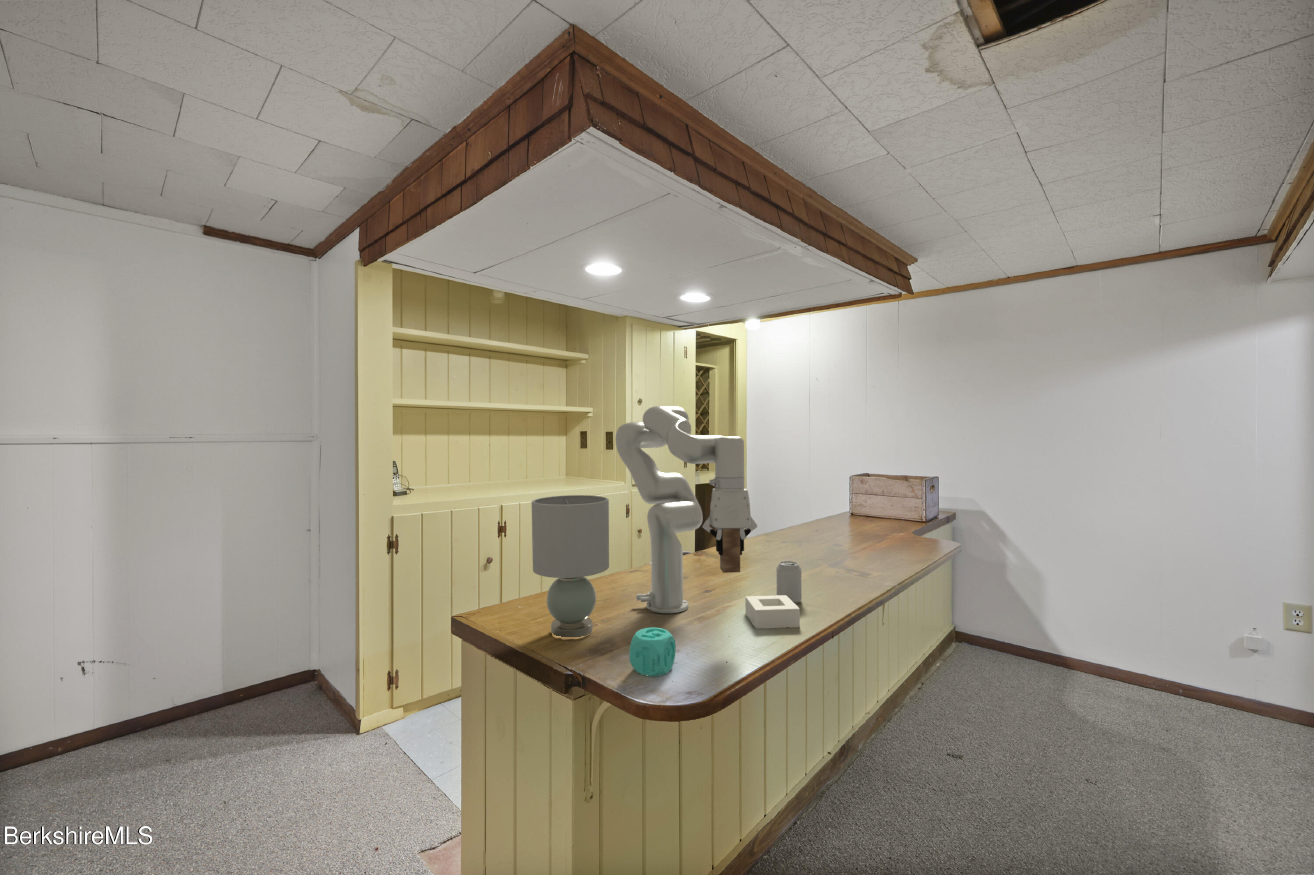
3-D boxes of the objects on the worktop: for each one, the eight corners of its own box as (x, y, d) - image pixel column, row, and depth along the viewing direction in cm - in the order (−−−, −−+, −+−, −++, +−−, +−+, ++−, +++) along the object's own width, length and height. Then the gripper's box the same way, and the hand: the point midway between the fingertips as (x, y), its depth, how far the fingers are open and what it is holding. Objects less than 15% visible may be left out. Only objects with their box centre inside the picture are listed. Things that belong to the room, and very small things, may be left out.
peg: (723, 572, 141) (722, 525, 140) (720, 568, 145) (719, 522, 145) (740, 572, 141) (740, 525, 141) (736, 567, 145) (736, 522, 145)
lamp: (565, 654, 132) (563, 507, 131) (517, 633, 145) (516, 500, 145) (625, 631, 147) (624, 498, 146) (577, 614, 160) (576, 493, 160)
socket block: (755, 628, 147) (755, 610, 147) (745, 613, 159) (745, 596, 159) (799, 627, 148) (799, 608, 148) (786, 612, 160) (786, 595, 160)
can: (802, 605, 166) (802, 566, 166) (776, 604, 168) (776, 565, 167) (800, 598, 173) (800, 560, 173) (776, 596, 175) (776, 559, 175)
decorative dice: (629, 673, 122) (628, 637, 121) (644, 659, 129) (644, 625, 129) (662, 679, 118) (661, 642, 118) (676, 664, 126) (675, 630, 125)
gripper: (699, 485, 138) (699, 558, 139) (765, 485, 139) (765, 556, 140) (695, 482, 146) (695, 551, 146) (758, 482, 147) (758, 550, 147)
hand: (730, 553), depth 143 cm, fingers closed on peg, 4 cm apart
